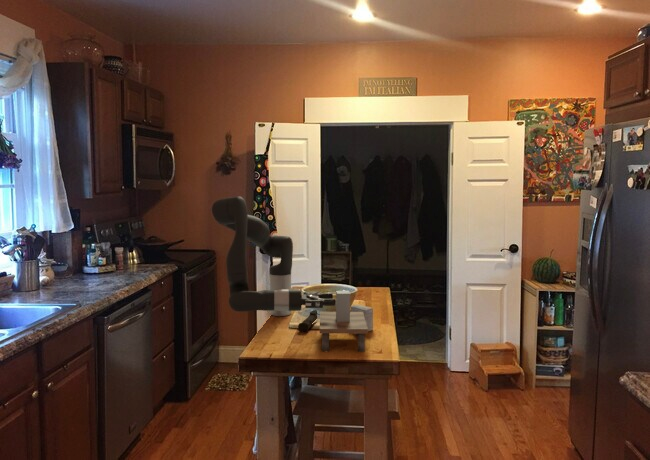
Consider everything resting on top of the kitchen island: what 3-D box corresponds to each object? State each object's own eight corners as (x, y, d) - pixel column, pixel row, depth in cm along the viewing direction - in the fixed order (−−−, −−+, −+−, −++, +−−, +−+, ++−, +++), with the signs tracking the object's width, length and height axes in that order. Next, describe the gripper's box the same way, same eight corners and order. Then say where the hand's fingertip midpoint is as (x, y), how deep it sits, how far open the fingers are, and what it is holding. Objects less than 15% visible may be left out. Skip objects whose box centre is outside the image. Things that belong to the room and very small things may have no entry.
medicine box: (373, 330, 200) (373, 307, 199) (365, 332, 196) (365, 310, 196) (358, 325, 205) (358, 304, 204) (350, 328, 202) (350, 306, 201)
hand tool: (307, 333, 195) (307, 321, 195) (297, 332, 197) (297, 320, 196) (322, 320, 213) (322, 309, 213) (313, 319, 215) (313, 308, 214)
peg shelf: (320, 332, 196) (320, 311, 195) (362, 332, 196) (363, 311, 195) (319, 352, 174) (319, 328, 173) (367, 352, 174) (367, 329, 173)
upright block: (335, 318, 186) (336, 290, 185) (348, 318, 186) (348, 290, 185) (336, 321, 182) (337, 293, 181) (349, 321, 182) (350, 293, 181)
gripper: (288, 293, 174) (336, 293, 176) (287, 285, 188) (331, 284, 190) (288, 316, 175) (336, 315, 176) (287, 305, 189) (331, 304, 191)
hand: (333, 299), depth 183 cm, fingers open, 8 cm apart
